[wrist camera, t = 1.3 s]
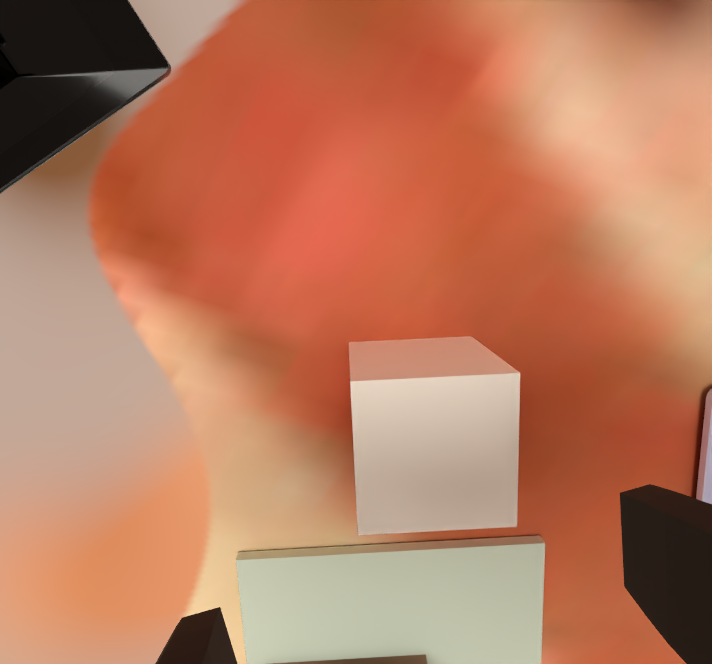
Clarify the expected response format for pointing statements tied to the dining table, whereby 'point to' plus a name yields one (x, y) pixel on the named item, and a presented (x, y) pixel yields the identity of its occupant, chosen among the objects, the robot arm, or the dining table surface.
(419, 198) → the dining table surface
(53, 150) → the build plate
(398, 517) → the peach block
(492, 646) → the board
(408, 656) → the walnut base
